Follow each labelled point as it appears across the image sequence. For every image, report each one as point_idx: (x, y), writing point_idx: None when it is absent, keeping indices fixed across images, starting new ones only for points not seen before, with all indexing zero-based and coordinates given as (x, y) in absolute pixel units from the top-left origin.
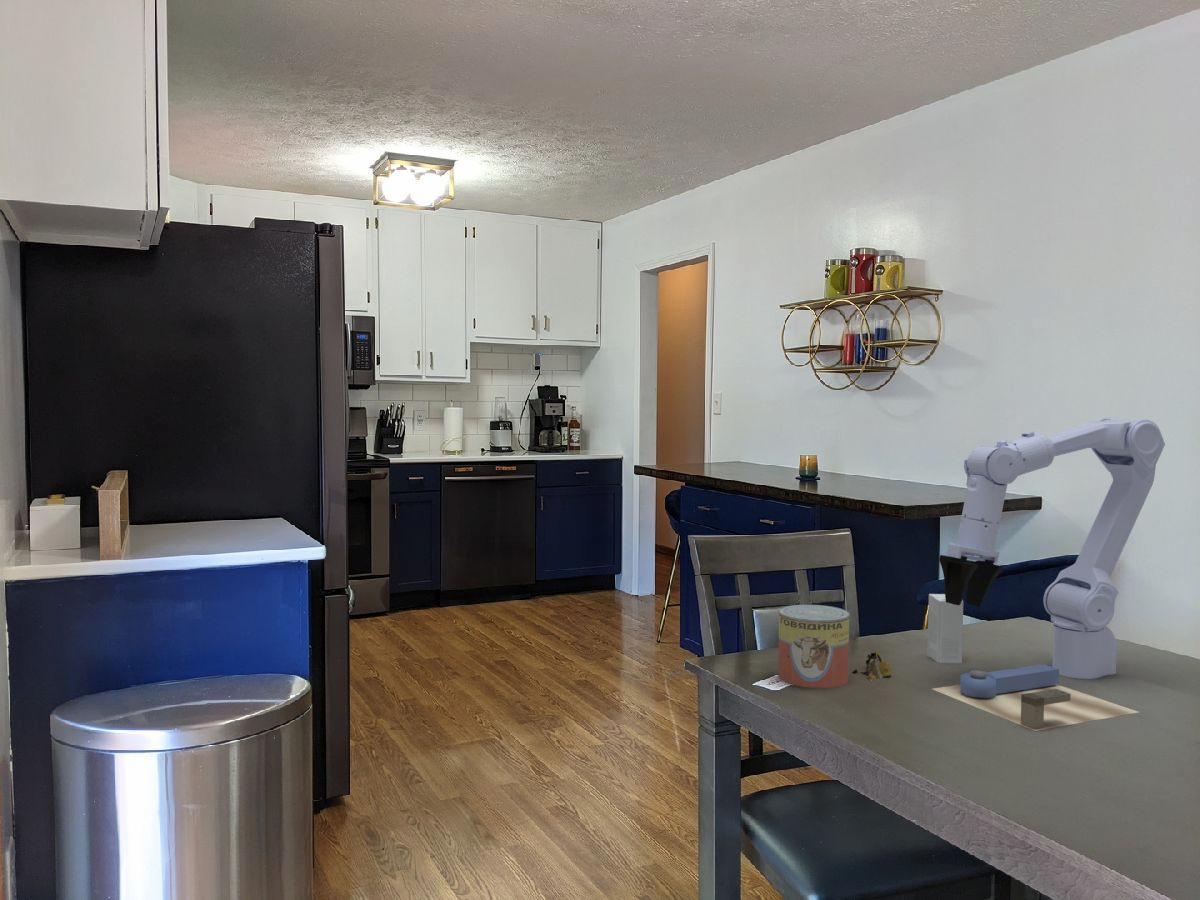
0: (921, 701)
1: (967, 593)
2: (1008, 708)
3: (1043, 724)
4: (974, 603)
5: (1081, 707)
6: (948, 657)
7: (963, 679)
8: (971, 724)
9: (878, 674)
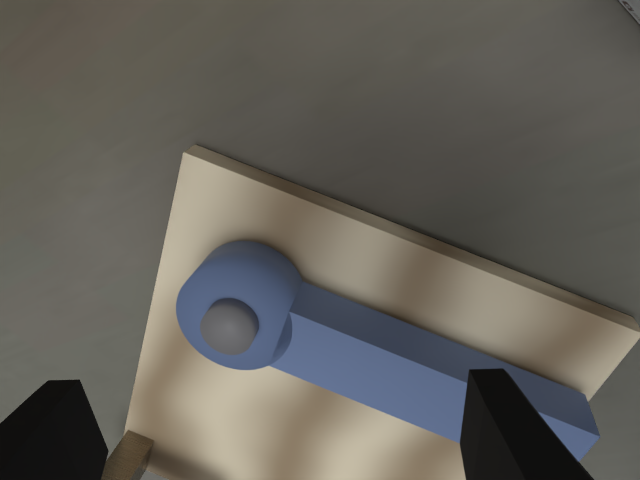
0: (128, 145)
1: (500, 434)
2: (208, 383)
3: (142, 474)
4: (468, 429)
5: None
6: (637, 4)
7: (181, 288)
8: (91, 323)
9: None
